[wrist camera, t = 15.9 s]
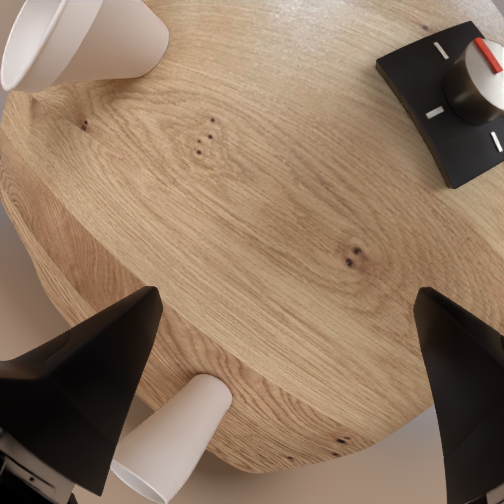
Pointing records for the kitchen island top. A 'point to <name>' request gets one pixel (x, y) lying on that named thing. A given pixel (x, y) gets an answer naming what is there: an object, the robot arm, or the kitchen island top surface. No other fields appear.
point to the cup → (81, 43)
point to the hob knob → (477, 82)
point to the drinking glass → (172, 439)
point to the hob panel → (442, 104)
